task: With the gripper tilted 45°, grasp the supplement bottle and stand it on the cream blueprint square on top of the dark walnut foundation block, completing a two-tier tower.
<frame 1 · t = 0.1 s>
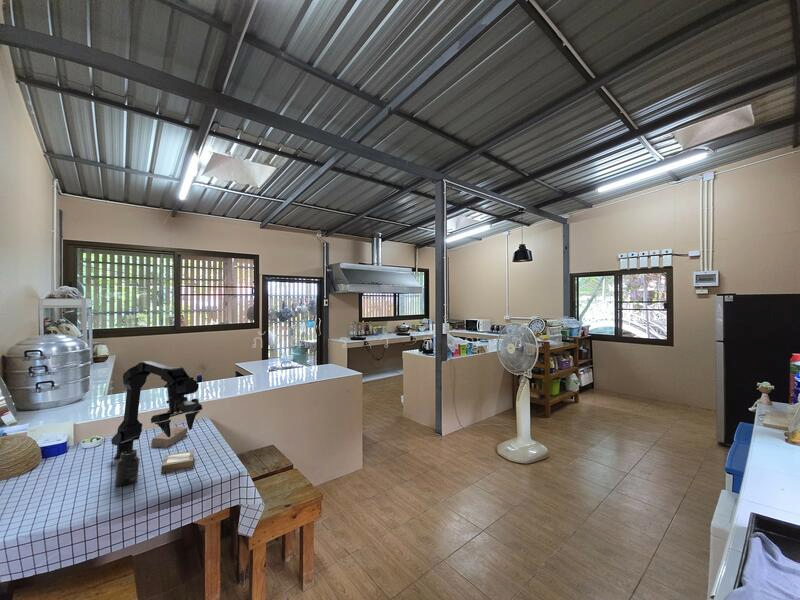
hand: (180, 433, 135), 15 cm above the table, tool pointing down, fingers open, 9 cm apart
supplement bottle: (126, 483, 123), on the table
walnut foundation: (178, 464, 139), on the table
brick: (169, 441, 164), on the table
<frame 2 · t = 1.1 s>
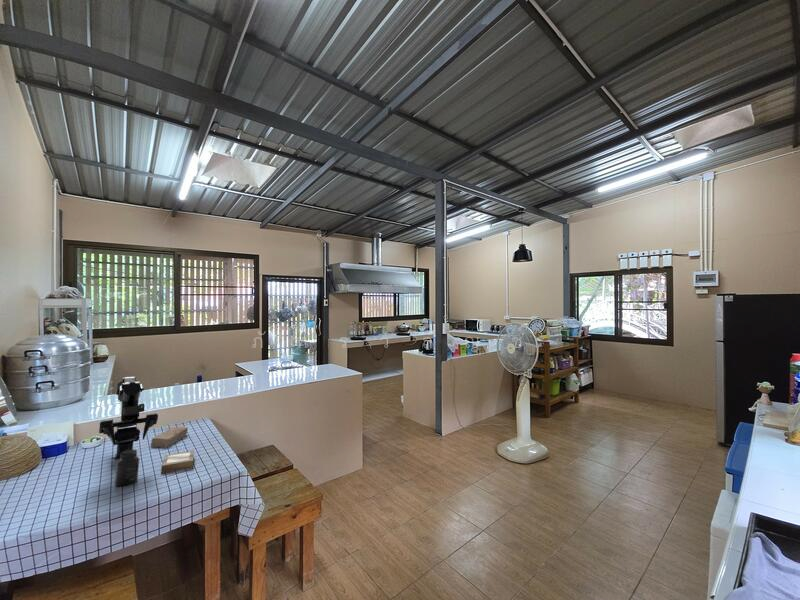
hand: (129, 441, 129), 13 cm above the table, tool tilted 45°, fingers open, 9 cm apart
nothing on the table moved.
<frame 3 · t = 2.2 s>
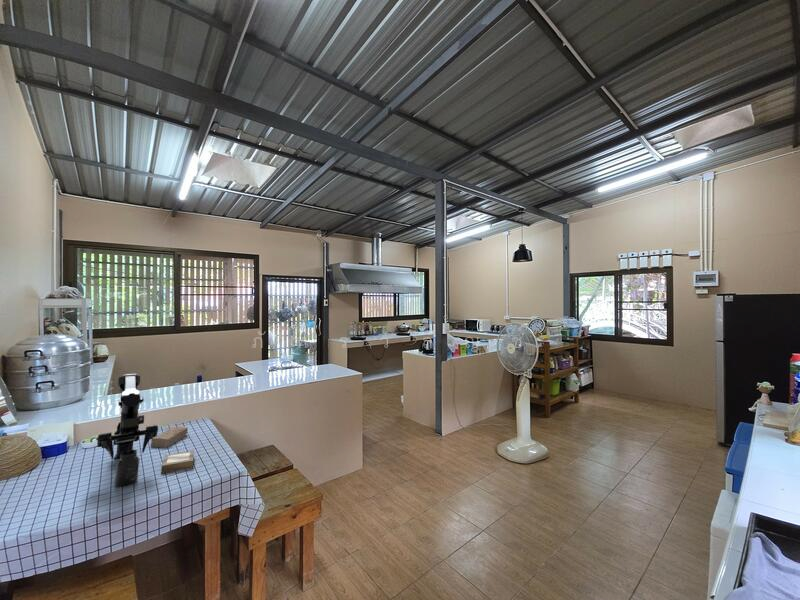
hand: (128, 455, 125), 10 cm above the table, tool tilted 45°, fingers open, 9 cm apart
nothing on the table moved.
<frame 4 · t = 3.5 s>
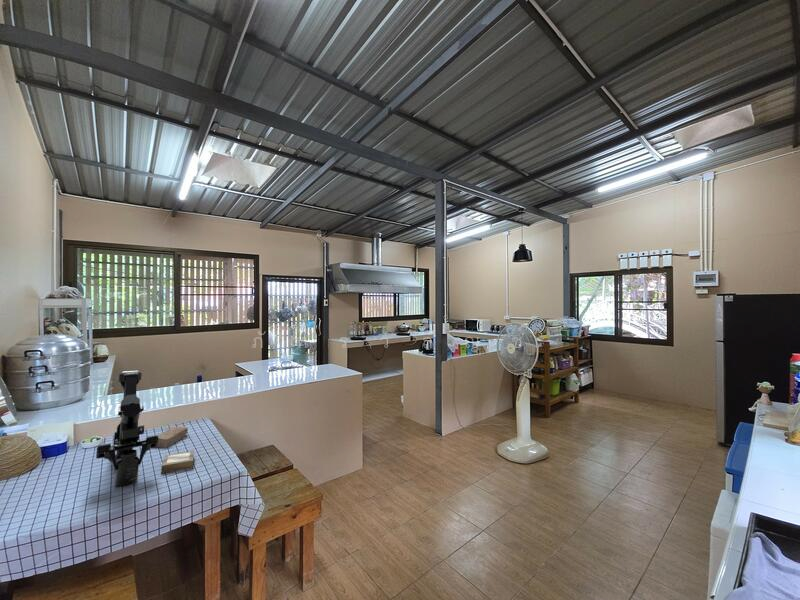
hand: (127, 467, 122), 7 cm above the table, tool tilted 45°, fingers closed on supplement bottle, 7 cm apart
supplement bottle: (126, 483, 123), on the table, touching gripper
everything else where it was.
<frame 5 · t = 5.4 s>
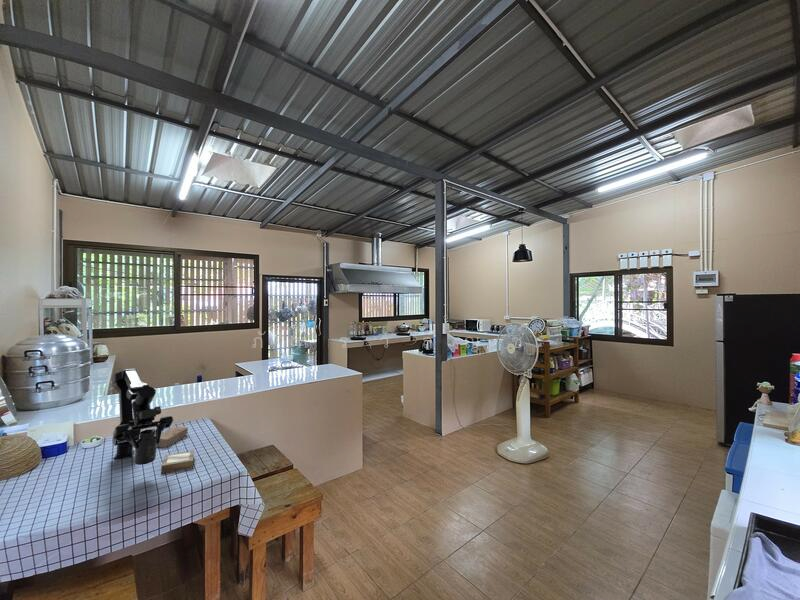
hand: (147, 445, 127), 13 cm above the table, tool tilted 45°, fingers closed on supplement bottle, 7 cm apart
supplement bottle: (144, 461, 127), point 6 cm above the table, touching gripper
everything else where it was.
when the fingers open (11 cm above the table, at t = 7.2 s): supplement bottle stays where it is, resting on walnut foundation.
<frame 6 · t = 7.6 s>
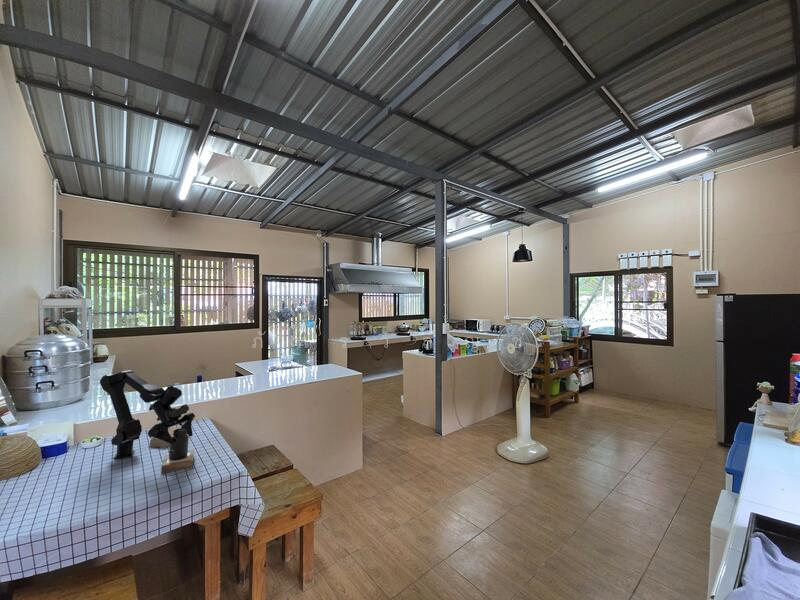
hand: (182, 439, 139), 11 cm above the table, tool tilted 45°, fingers open, 9 cm apart
supplement bottle: (178, 458, 139), point 3 cm above the table, touching walnut foundation
everything else where it was.
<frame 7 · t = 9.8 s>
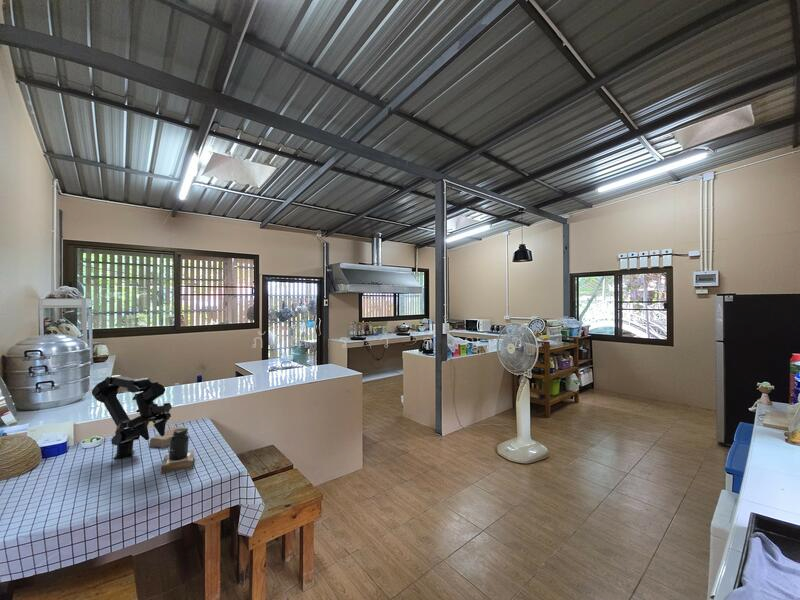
hand: (155, 437, 140), 11 cm above the table, tool tilted 30°, fingers open, 9 cm apart
nothing on the table moved.
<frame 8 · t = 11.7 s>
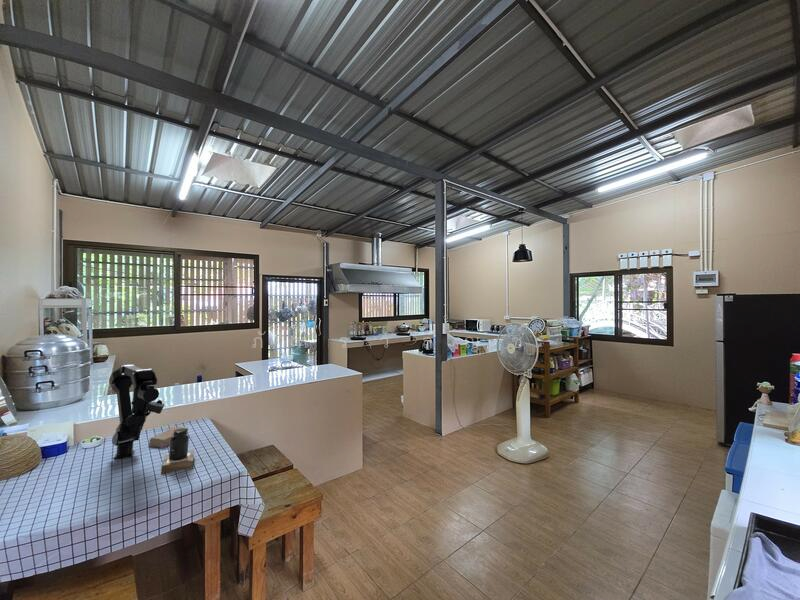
hand: (138, 433, 139), 13 cm above the table, tool pointing down, fingers open, 9 cm apart
nothing on the table moved.
at the end: supplement bottle 0.2 cm off-centre on the walnut foundation, point 2.9 cm above the walnut foundation's base; supplement bottle tilted 0°; the gripper is holding nothing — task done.
